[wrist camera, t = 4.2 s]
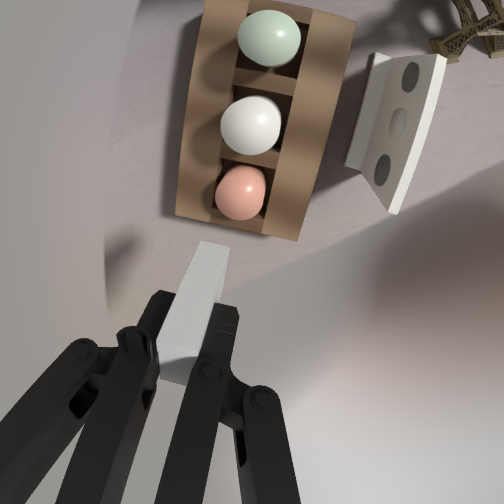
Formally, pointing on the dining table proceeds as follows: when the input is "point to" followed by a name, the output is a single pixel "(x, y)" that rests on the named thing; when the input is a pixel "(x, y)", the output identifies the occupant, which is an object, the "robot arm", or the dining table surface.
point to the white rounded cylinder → (251, 125)
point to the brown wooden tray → (277, 89)
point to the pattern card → (395, 122)
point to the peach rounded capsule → (241, 191)
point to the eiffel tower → (474, 31)
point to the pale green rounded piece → (269, 38)
